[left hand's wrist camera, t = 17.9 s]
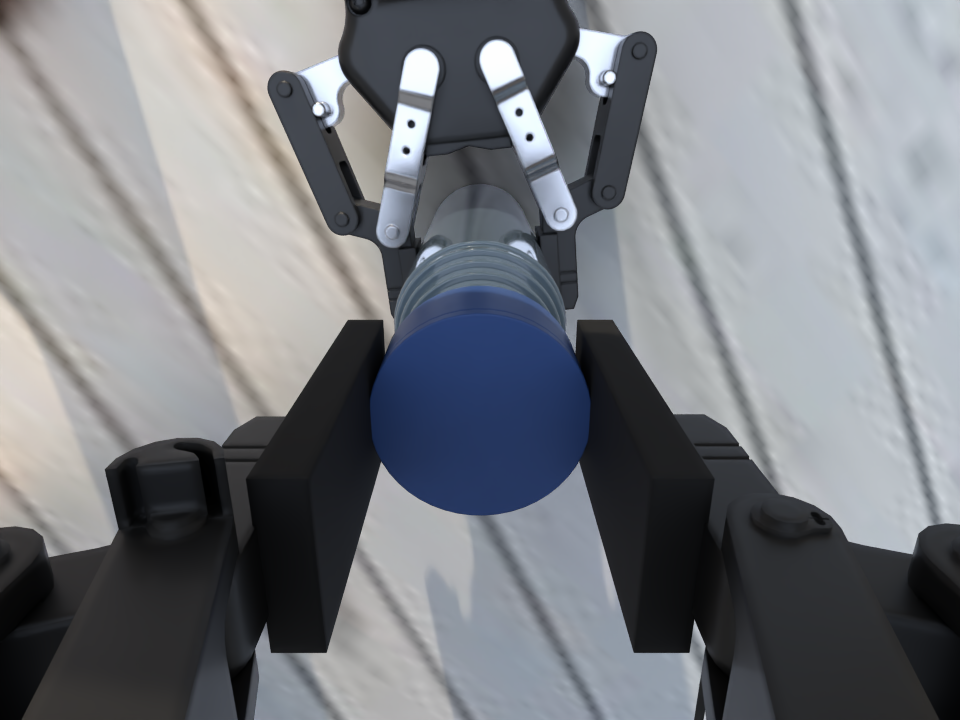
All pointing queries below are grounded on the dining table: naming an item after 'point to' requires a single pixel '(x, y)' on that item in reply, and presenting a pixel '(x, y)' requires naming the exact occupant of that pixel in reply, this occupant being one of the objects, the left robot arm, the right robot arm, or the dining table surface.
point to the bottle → (480, 253)
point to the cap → (480, 402)
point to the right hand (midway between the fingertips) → (487, 324)
